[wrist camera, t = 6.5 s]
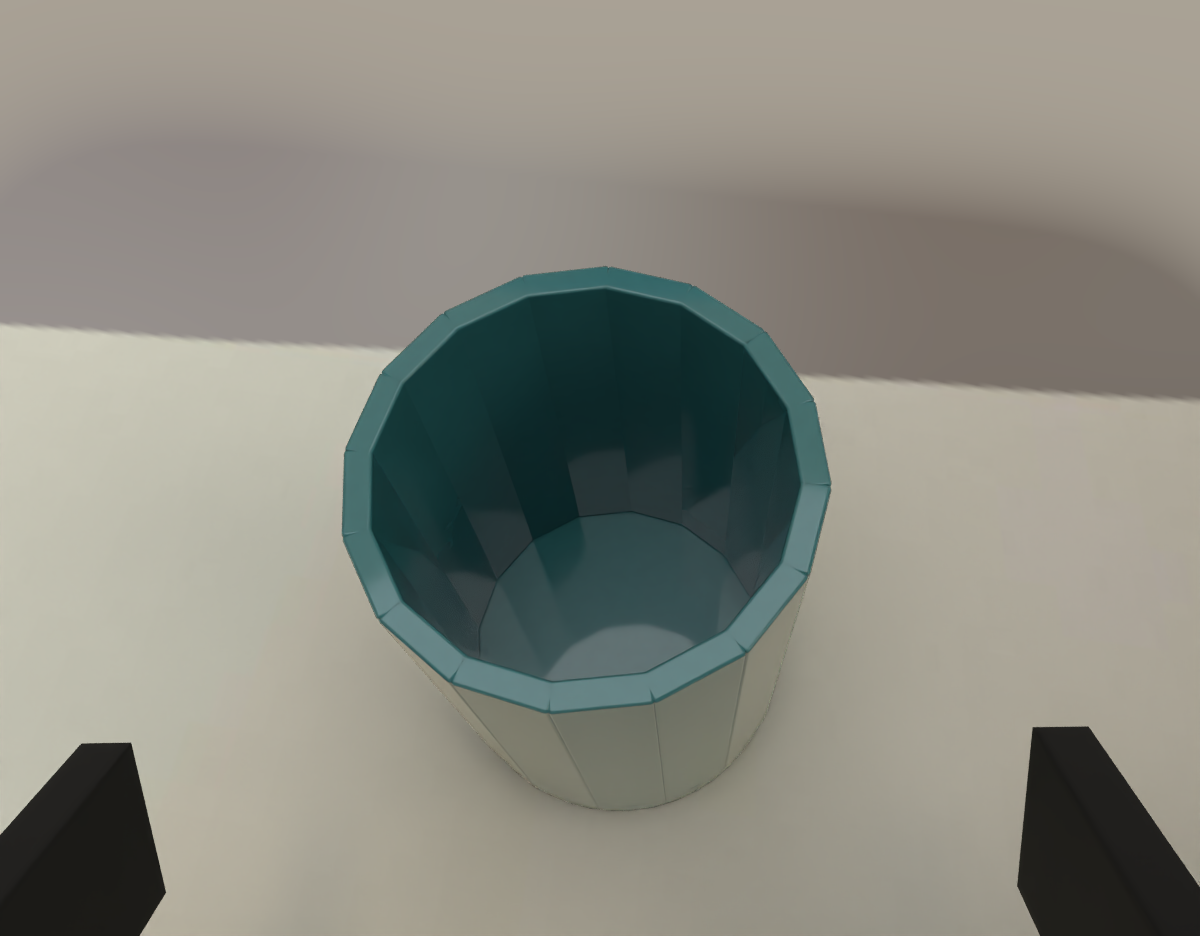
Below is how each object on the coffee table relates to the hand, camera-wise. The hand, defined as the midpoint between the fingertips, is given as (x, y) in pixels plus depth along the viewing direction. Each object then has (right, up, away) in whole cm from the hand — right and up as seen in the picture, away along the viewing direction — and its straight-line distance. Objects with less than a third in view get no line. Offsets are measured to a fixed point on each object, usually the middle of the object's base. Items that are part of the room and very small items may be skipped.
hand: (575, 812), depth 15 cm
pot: (+1, 0, +12) cm, 12 cm away
